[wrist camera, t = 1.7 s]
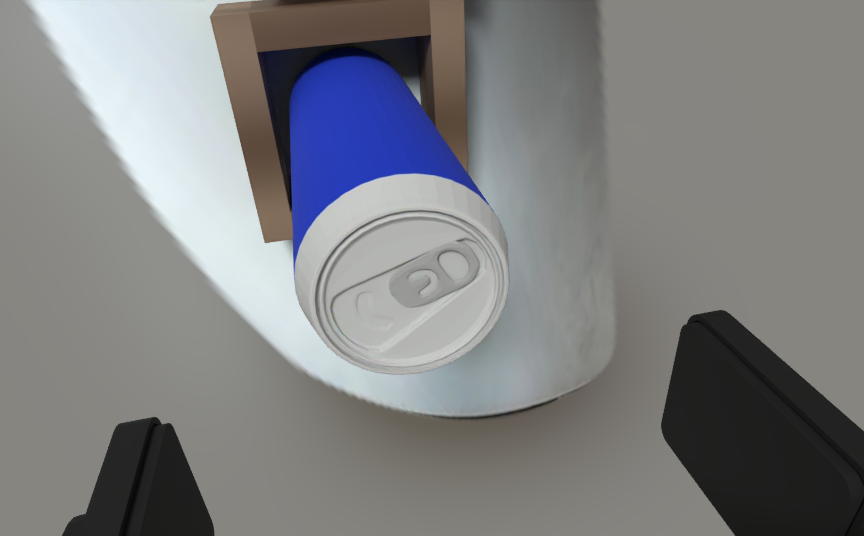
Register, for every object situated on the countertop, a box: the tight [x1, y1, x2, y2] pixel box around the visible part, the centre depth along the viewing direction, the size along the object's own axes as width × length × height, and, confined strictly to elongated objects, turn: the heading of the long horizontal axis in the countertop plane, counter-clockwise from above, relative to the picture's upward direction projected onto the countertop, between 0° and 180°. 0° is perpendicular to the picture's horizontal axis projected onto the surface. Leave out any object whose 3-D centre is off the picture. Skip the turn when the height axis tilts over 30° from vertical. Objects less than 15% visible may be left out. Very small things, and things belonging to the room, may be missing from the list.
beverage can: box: [289, 48, 509, 375], centre depth 19 cm, size 5×5×15 cm
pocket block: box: [210, 0, 468, 243], centre depth 24 cm, size 9×9×3 cm
